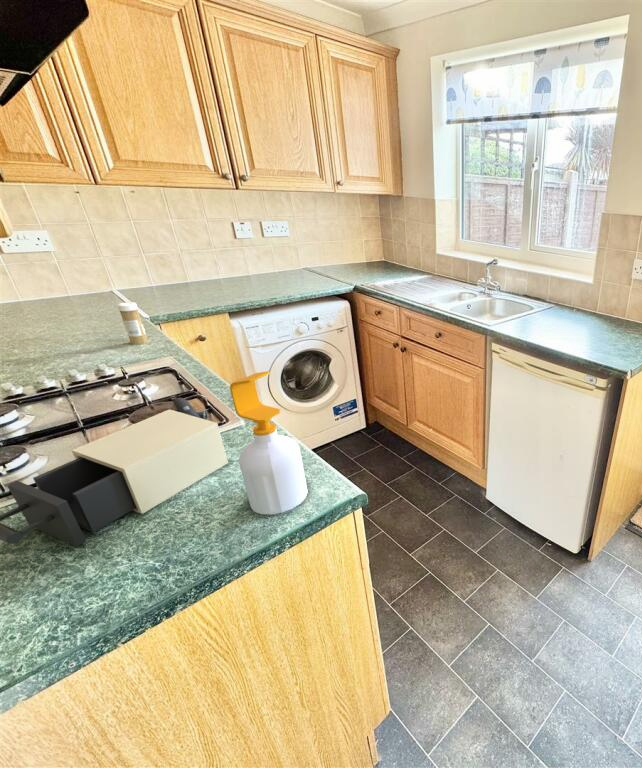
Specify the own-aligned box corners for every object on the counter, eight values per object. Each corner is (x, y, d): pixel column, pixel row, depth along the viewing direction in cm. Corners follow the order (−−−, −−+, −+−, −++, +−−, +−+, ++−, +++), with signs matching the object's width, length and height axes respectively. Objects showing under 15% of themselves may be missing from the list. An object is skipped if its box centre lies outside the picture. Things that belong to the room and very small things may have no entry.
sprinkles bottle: (152, 342, 138) (139, 302, 133) (142, 346, 134) (129, 305, 129) (137, 341, 138) (123, 301, 132) (127, 346, 134) (112, 305, 128)
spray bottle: (280, 522, 70) (249, 390, 59) (238, 508, 72) (202, 379, 62) (319, 490, 77) (298, 368, 67) (280, 478, 80) (254, 359, 70)
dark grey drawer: (32, 573, 57) (7, 530, 54) (-17, 548, 61) (-44, 506, 57) (177, 488, 74) (164, 452, 71) (132, 472, 77) (118, 437, 74)
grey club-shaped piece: (217, 436, 91) (210, 414, 89) (177, 447, 87) (170, 424, 84) (200, 405, 103) (194, 385, 100) (165, 414, 98) (158, 392, 96)
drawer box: (142, 516, 69) (123, 469, 65) (92, 496, 73) (71, 450, 69) (228, 464, 83) (217, 422, 79) (182, 450, 86) (169, 409, 82)
